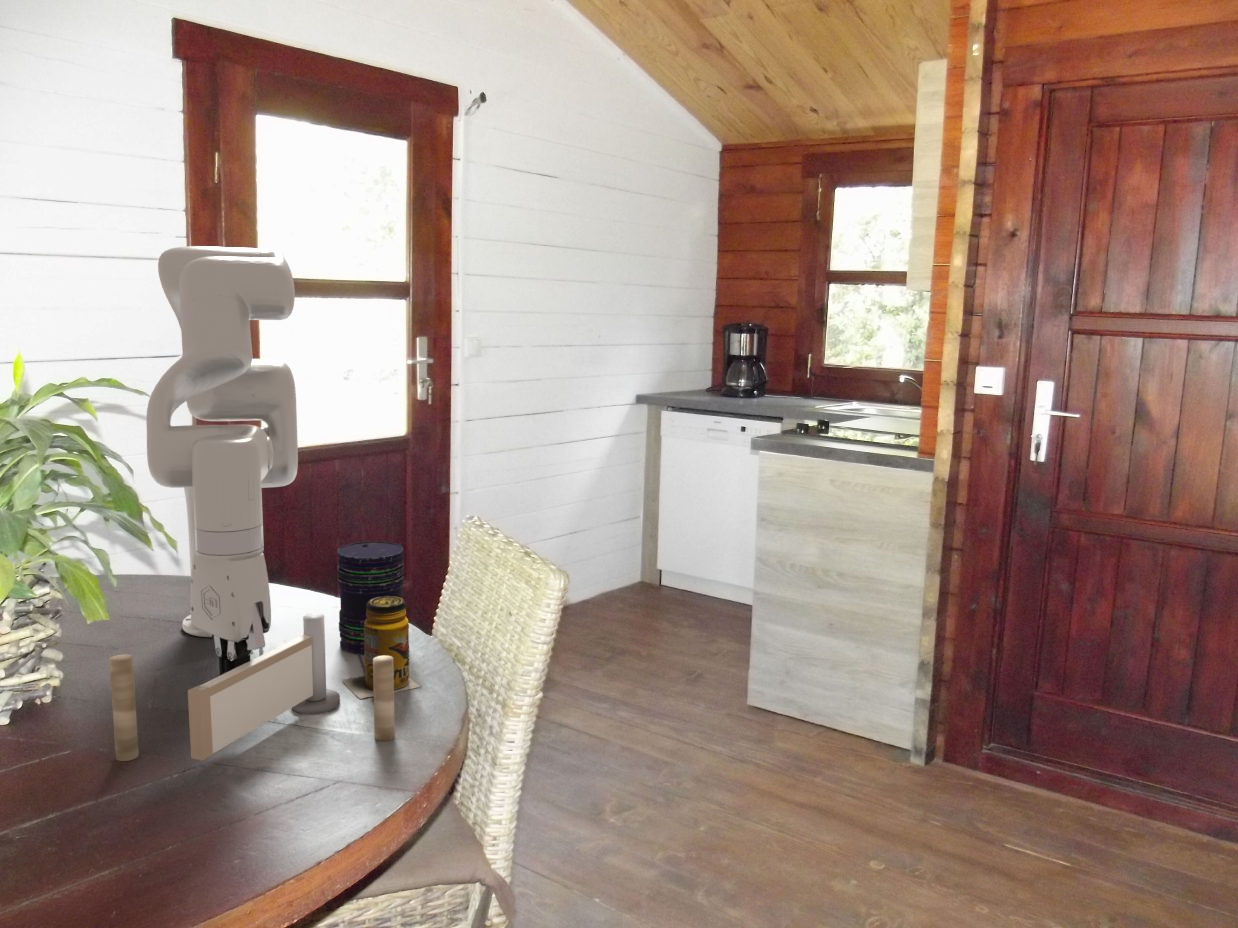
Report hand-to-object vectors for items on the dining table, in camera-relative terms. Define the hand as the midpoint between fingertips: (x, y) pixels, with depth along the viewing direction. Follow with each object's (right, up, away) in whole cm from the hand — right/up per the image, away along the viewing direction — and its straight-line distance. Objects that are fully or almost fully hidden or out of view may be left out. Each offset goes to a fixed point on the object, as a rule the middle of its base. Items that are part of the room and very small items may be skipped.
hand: (236, 685), depth 125 cm
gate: (+3, -5, +1) cm, 6 cm away
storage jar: (+9, -1, +33) cm, 34 cm away
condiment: (+13, -4, +18) cm, 23 cm away
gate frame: (+3, -7, -1) cm, 7 cm away
